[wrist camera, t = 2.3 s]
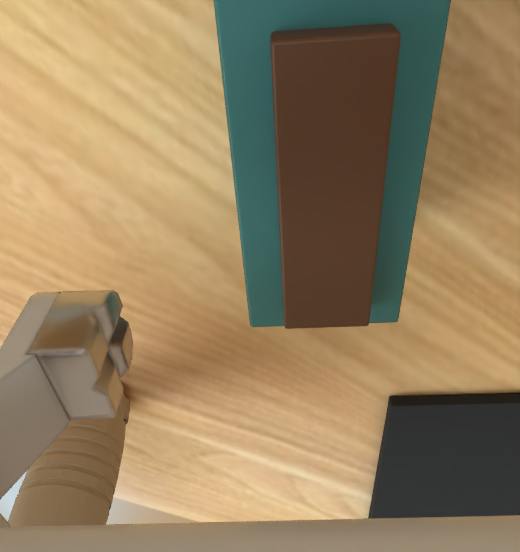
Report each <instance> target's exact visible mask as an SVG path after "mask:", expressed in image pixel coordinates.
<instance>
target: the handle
mask: <svg viewBox="0 0 520 552" xmlns="http://www.w3.org/2000/svg"><path fill="white" fill-rule="evenodd" d="M123 388H124V387H123ZM129 412H130V401H129V399H128V398H127V397H126V396H125V395H124V389H123V392H122V396H121V399H120V403H119V406H118V410H117V413H116V416H115V418H101V419H85V420H70V424H69V425H68V426H67V427H66V428H65V430H64V431H63V432H62V433H61V434H60V435H59V436H58V437H57V438H56V439H55V440H54V441H53V443H52V444H51V445H50V446H49V447H48V448H47V449H46V450H45V451H44V452H43V453H42V455H41V456H40V457H39V458H38V459H37V460H36V461H35V462H34V463H33V464H32V465H31V466H30V468H29V469H28V471H27V473H26V476H25V479H24V481H23V483H22V485H21V488H20V490H19V494H18V495H17V497H16V500H15V502H14V505H13V508H12V511H11V514H10V517H9V520H8V523H9V524H10V526H11V527H24V526H68V525H106V522H107V519H108V516H109V510H110V508H111V504H112V499H113V495H114V492H115V487H116V483H117V479H118V474H119V467H120V464H121V459H122V453H123V447H124V440H125V429H126V424H127V422H128V418H129Z"/></svg>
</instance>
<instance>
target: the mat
mask: <svg viewBox="0 0 520 552" xmlns="http://www.w3.org/2000/svg"><path fill="white" fill-rule="evenodd" d="M510 515H520V393H517V394H478V395H439V396H400V397H389V402H388V408H387V414H386V420H385V426H384V431H383V437H382V443H381V449H380V455H379V460H378V466H377V472H376V478H375V483H374V489H373V495H372V501H371V507H370V512H369V518H368V519H376V518H419V517H464V516H510Z"/></svg>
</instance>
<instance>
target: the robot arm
mask: <svg viewBox="0 0 520 552" xmlns="http://www.w3.org/2000/svg"><path fill="white" fill-rule="evenodd" d="M122 307H123V305H122V302H121V300H120V297H119V295H118V293H117V292H115V291H113V290H104V291H63V292H39V293H36V294H34V295H32V296H31V297H30V298H29V300H28V302H27V304H26V305H25V307H24V309H23V310H22V312H21V314H20V316H19V317H18V319H17V321H16V322H15V324H14V326H13V328H12V329H11V331H10V333H9V334H8V336H7V338H6V340H5V341H4V343H3V345H2V346H1V348H0V499H1V498H2V497H3V496H4V495H5V494H6V493H7V491H8V490H9V489H10V488H11V487H12V486H13V485H14V484H15V483H16V482H17V480H18V479H19V478H20V477H21V476H22V475H23V474H24V473H25V472H26V471H27V470H28V469H29V468H30V466H31V465H32V464H33V463H34V462H35V461H36V460H37V459H38V458H39V457H40V456H41V455H42V453H43V452H44V451H45V450H46V449H47V448H48V447H49V446H50V445H51V444H52V443H53V441H54V440H55V439H56V438H57V437H58V436H59V435H60V434H61V433H62V432H63V431H64V430H65V428H66V427H67V426H68V425H69V424H70V420H85V419H101V418H115V416H116V413H117V410H118V406H119V403H120V399H121V396H122V392H123V389H124V388H123V385H122V383H121V380H120V377H121V376H122V375H124V374H125V373H126V372H127V371H128V370H129V368H130V364H131V360H132V350H133V340H132V333H131V329H130V326H129V323H128V322H127V321H125V320H124V319H123V318H121V317H120V313H121V310H122ZM0 552H520V515H510V516H464V517H419V518H376V519H333V520H290V521H247V522H202V523H159V524H158V523H157V524H115V525H68V526H24V527H11V526H10V524H9V523H8V522H7V521H6V519H5V518H4V517H3V516H2V515H1V514H0Z"/></svg>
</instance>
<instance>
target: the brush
mask: <svg viewBox="0 0 520 552" xmlns="http://www.w3.org/2000/svg"><path fill="white" fill-rule="evenodd" d="M450 2H451V0H214V8H215V16H216V25H217V34H218V43H219V52H220V61H221V70H222V79H223V88H224V96H225V105H226V114H227V123H228V132H229V141H230V150H231V159H232V168H233V177H234V185H235V194H236V203H237V212H238V221H239V230H240V239H241V248H242V257H243V266H244V274H245V283H246V292H247V301H248V310H249V319H250V325H251V327H269V326H285V328H287V329H292V328H321V327H351V326H368V325H369V323H386V322H397V321H398V318H399V312H400V306H401V300H402V294H403V288H404V282H405V276H406V270H407V264H408V257H409V251H410V245H411V239H412V233H413V227H414V221H415V215H416V209H417V203H418V197H419V191H420V184H421V178H422V172H423V166H424V160H425V154H426V148H427V142H428V136H429V130H430V124H431V118H432V111H433V105H434V99H435V93H436V87H437V81H438V75H439V69H440V63H441V57H442V51H443V45H444V38H445V32H446V26H447V20H448V14H449V8H450Z"/></svg>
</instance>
